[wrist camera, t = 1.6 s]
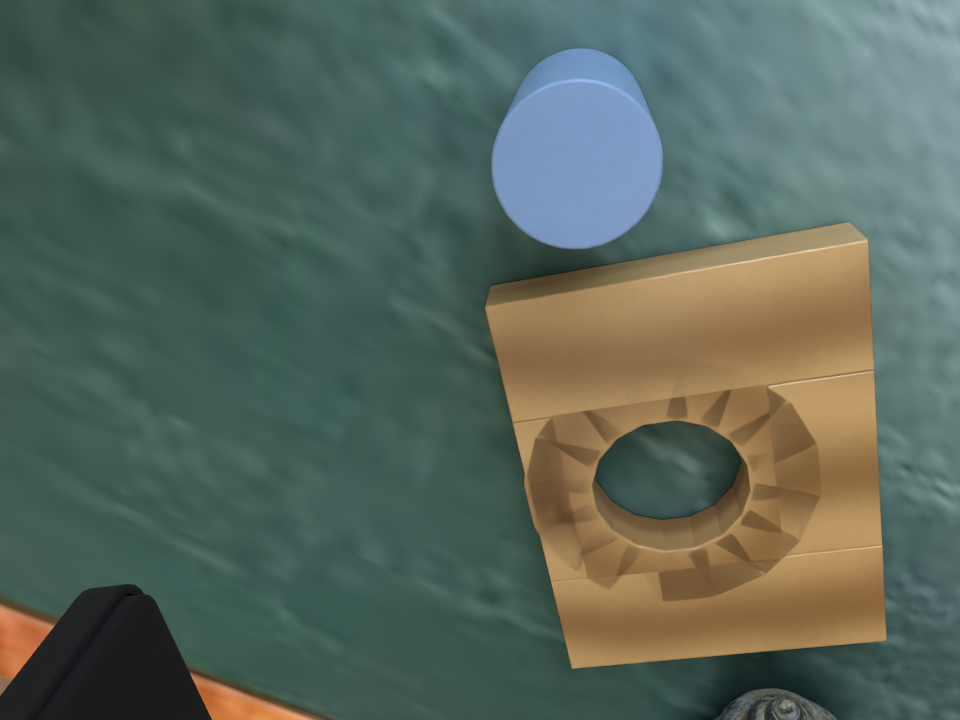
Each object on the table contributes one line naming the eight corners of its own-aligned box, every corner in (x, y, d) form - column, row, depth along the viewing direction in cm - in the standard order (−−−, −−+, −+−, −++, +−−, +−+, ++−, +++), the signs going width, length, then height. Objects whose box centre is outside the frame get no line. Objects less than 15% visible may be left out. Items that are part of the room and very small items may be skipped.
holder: (486, 286, 30) (480, 307, 28) (850, 220, 28) (869, 239, 26) (569, 633, 36) (568, 669, 35) (871, 605, 34) (887, 641, 32)
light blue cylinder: (499, 64, 27) (473, 99, 20) (634, 34, 26) (650, 61, 20) (526, 194, 28) (510, 263, 22) (654, 169, 28) (674, 233, 21)
